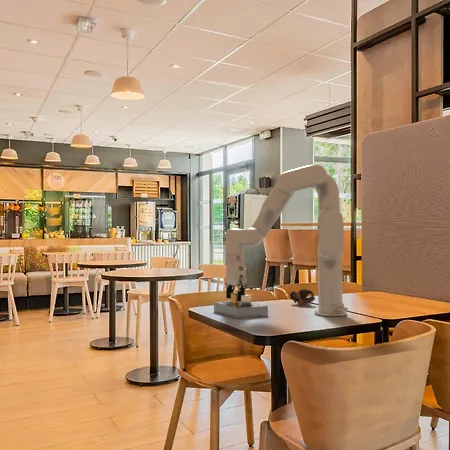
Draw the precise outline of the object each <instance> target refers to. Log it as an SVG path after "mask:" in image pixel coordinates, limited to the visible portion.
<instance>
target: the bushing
mask: <svg viewBox="0 0 450 450" xmlns="http://www.w3.org/2000/svg"><path fill="white" fill-rule="evenodd" d="M230 301H231V304H239V303H240V301H237V292H233V293H231V298H230Z"/></svg>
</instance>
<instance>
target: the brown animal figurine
mask: <svg viewBox="0 0 450 450" xmlns="http://www.w3.org/2000/svg"><path fill="white" fill-rule="evenodd" d="M309 295H311V296H309ZM289 298H290V299H291V300H292V301H293V302H294V304H298V303H299V304H298V306H299V305H300V306H299V307H303V306H304V305H307V304H308V303H310V304H311V303H313V302H314V301H315V300H316V298H315V296H314V291H312V290H310V289H307V288H303V289H302V288H301V289H299V290H298V291H297V292H296V291H295V290H294V291H293V290H292V291H291V292H290V293H289ZM308 305H309V304H308Z"/></svg>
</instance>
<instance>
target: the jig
mask: <svg viewBox="0 0 450 450" xmlns="http://www.w3.org/2000/svg"><path fill="white" fill-rule="evenodd" d="M213 312H214V313H217V314H221V315H223V316H226V317H229V318H233V319H236V320H237V319H238V320H240V319H241V320H242V319H249V318H260V317H268V316H269V306H268V305H266V304H262V303H258V302H253V301H252V295H251V294H245V295H241V301H240V303H239V304H231V300H223V301H213Z"/></svg>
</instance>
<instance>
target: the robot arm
mask: <svg viewBox="0 0 450 450" xmlns="http://www.w3.org/2000/svg"><path fill="white" fill-rule="evenodd" d="M309 188H312V189H314V191H316V193H317V201H318V203H317V204H318V207H317V209H318V213H317V227H318V229H317V231H318V233H317V234H318V243H317V250H316V251H317V290H318V292H317V293H318V295H317V297H318V299H317V305H318V308H317V309H315V310H314V315H316V316H322V317H344V316H346V315H347V312H348V310H349V308H348V307H345V303H343V260H342V259H343V258H342V256H343V252H344V247H345V245H344V243H345V242H344V241H345V240H344V239H345V236H344V234H345V233H344V227H345V226H344V217H343V214H342V213H341V206H340V204H341V203H340V191H339V187H338V183H337V182H336V181H335V179H334V178H333V177H332V176H331V175H330V174H329V173H327V170H326V169H325V168H324V166H322V165H320V164H315V163H314V164H310V165H309V164H308V165H305V166H302V167H298V168H295V169H291V170H287V171H285V172H284V171H283V172H282V173H280V174H279V175H278V176H277V179H276V183H275V184H274V186H273V187H272V189H271V190H270V193H268V195H267V197H266V198H265V200H264V201H263V203H262V205H261V209H260V211H259V214H258V216H257V218H256V219H255V221H254V222H253V224H252V226H251V227H249V228H243V229H242V228H228V229H227V230H226V232H225V254H226V255H225V262H226V266H225V267H226V269H225V277H224V284H225V295H226V298H225V299H231V293H234V287H236V289H237V292H236V293H237V301H241V295H246V288H247V283H248V281H247V273H246V270H247V269H246V265H245V246H248V247H256V246H260V245H261V244H262V242H264V240H265V238H266V237H267V235H268V233H269V232H270V231H271V229H272V228H273V226H274V224H275V223H276V221H277V220H278V219H279V218H280V216H281V214H282V213H283V212H284V209H285V208H286V206H287V205H288V204H289V202H290V200H291V199H292V198H293V197H294V195H295V193H296V192H297V191H301V190H305V189H309Z"/></svg>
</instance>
